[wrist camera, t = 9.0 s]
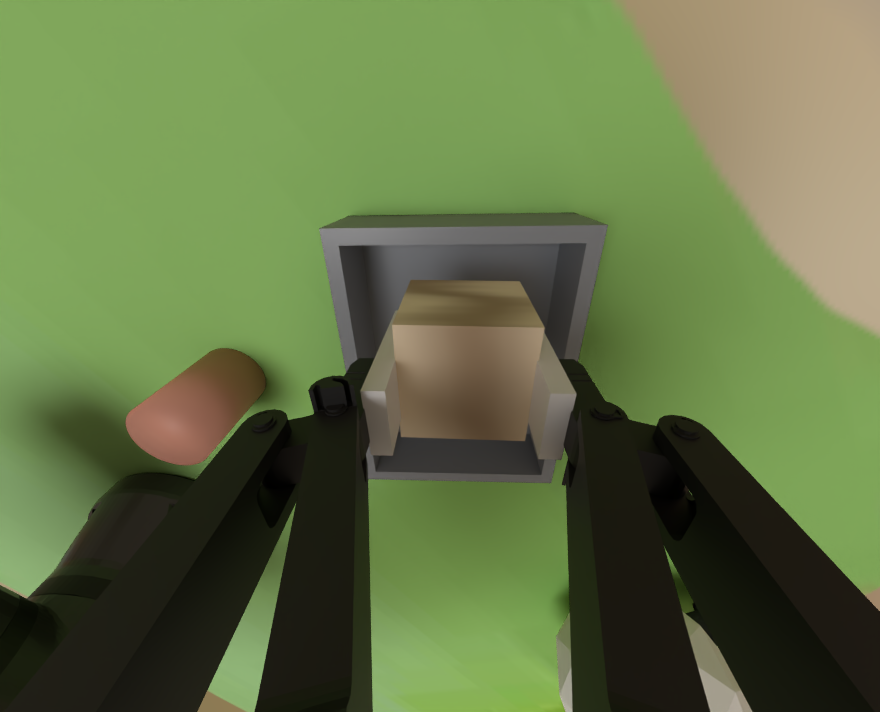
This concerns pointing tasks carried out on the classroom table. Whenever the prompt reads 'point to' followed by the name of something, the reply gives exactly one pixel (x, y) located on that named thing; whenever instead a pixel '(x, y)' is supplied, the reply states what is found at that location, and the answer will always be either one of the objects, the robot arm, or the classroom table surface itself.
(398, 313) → the wooden cube
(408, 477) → the tote
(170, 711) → the robot arm
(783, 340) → the classroom table surface
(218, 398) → the red cylinder
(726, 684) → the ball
